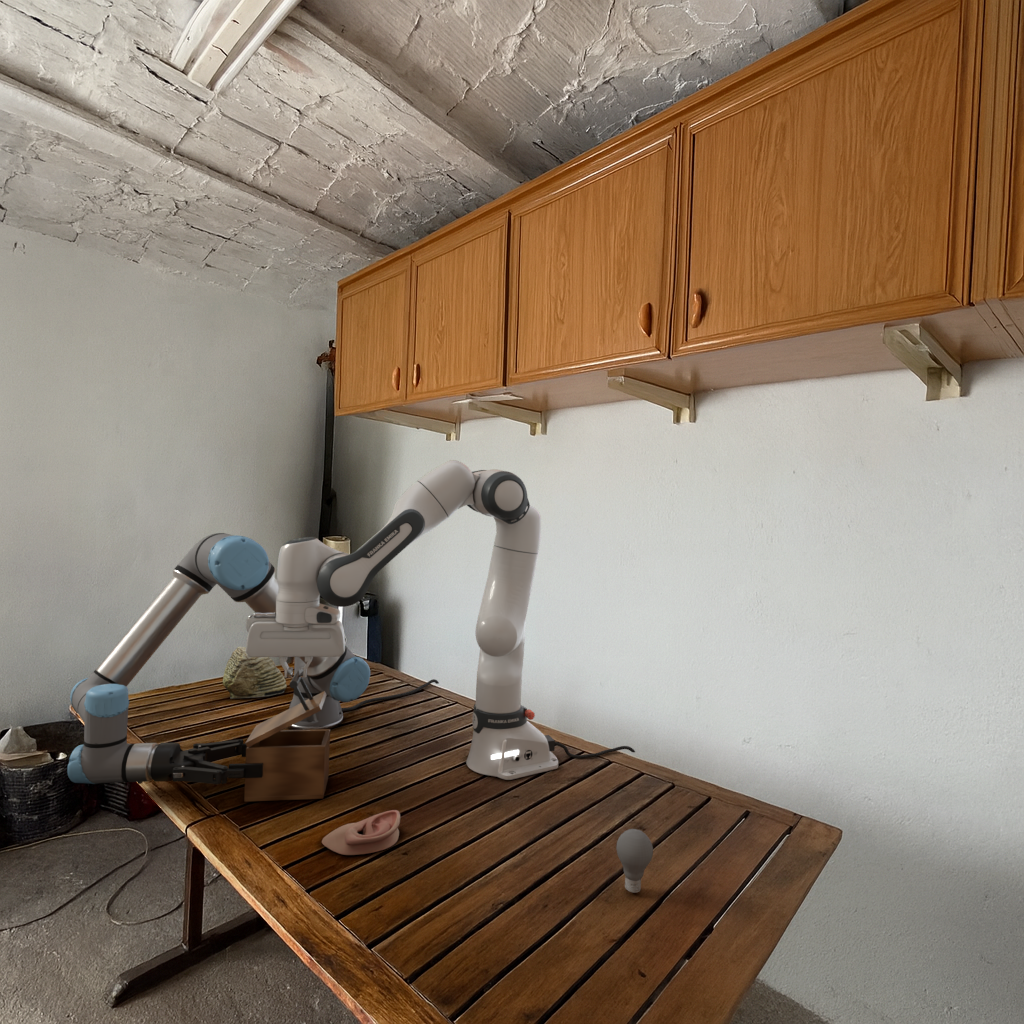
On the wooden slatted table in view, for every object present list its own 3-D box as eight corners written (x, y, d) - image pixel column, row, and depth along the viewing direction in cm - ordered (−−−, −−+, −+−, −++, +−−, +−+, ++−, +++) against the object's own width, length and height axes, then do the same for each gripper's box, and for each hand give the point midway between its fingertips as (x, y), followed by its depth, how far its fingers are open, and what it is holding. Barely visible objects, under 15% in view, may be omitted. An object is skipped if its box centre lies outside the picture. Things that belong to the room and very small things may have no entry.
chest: (328, 777, 143) (330, 729, 143) (323, 798, 133) (325, 746, 133) (255, 780, 140) (257, 730, 140) (244, 801, 130) (246, 748, 130)
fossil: (218, 695, 195) (220, 647, 195) (278, 685, 208) (279, 640, 207) (228, 703, 189) (230, 653, 188) (289, 692, 201) (290, 645, 201)
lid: (326, 695, 142) (310, 663, 142) (321, 710, 132) (303, 676, 132) (258, 729, 140) (241, 697, 139) (247, 747, 130) (229, 713, 129)
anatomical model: (313, 828, 113) (343, 799, 125) (313, 850, 113) (342, 819, 125) (383, 839, 111) (407, 808, 122) (382, 862, 111) (406, 829, 122)
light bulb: (610, 879, 108) (613, 822, 108) (644, 879, 109) (647, 822, 109) (619, 902, 102) (622, 840, 102) (655, 901, 103) (658, 840, 103)
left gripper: (174, 757, 143) (277, 755, 147) (132, 806, 121) (255, 802, 125) (175, 724, 143) (278, 723, 147) (133, 767, 121) (256, 764, 124)
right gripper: (242, 615, 131) (240, 681, 131) (344, 615, 135) (342, 680, 135) (249, 609, 137) (248, 673, 138) (347, 610, 141) (345, 672, 141)
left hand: (268, 759), depth 136 cm, fingers closed on chest, 10 cm apart
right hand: (295, 676), depth 136 cm, fingers closed
